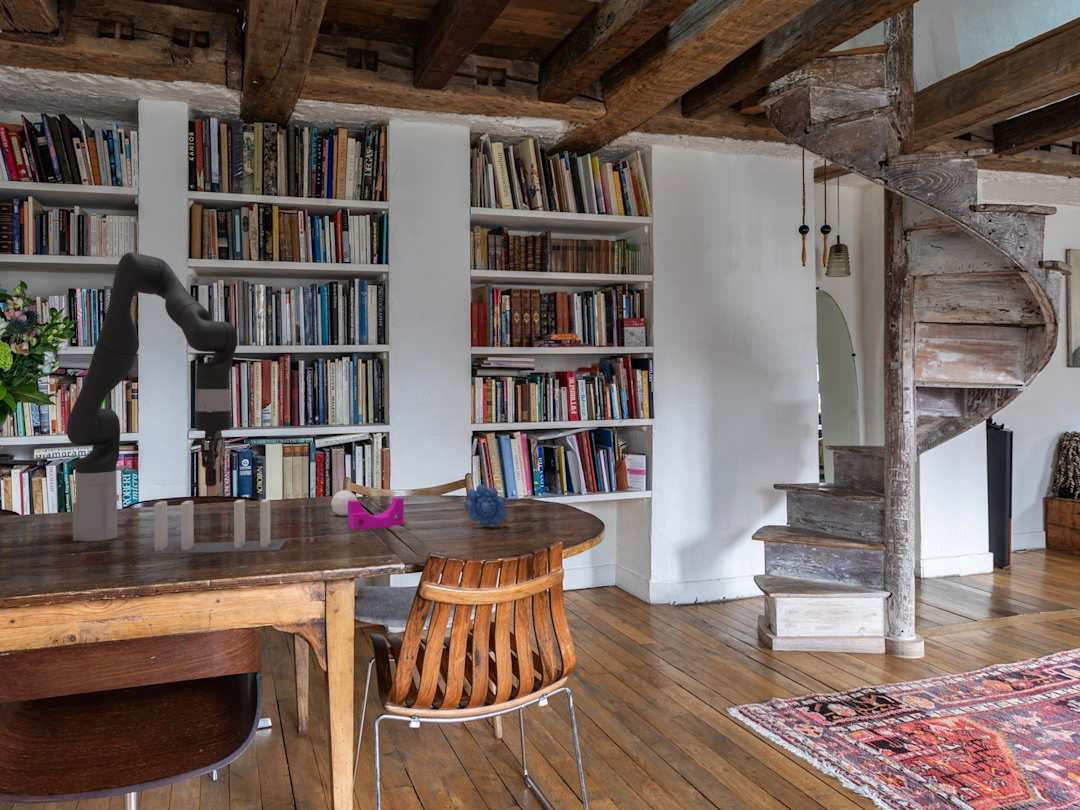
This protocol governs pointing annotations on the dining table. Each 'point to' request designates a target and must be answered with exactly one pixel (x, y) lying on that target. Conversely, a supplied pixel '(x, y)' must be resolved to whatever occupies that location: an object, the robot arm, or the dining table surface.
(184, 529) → the domino
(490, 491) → the blue flower rosette
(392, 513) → the toy block
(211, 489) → the domino
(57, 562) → the dining table surface
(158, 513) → the domino
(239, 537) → the domino
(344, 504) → the geometric ball
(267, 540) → the domino
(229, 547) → the domino mat
